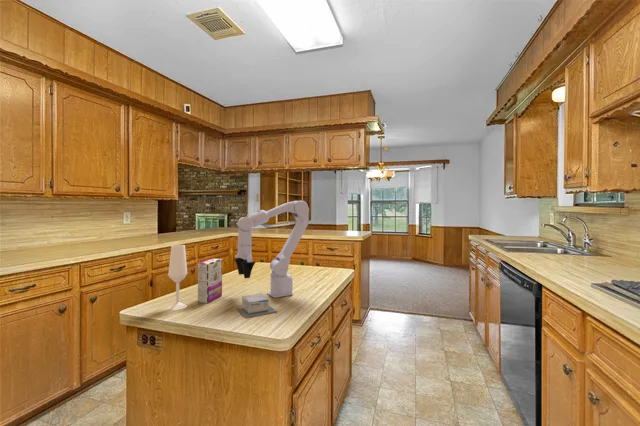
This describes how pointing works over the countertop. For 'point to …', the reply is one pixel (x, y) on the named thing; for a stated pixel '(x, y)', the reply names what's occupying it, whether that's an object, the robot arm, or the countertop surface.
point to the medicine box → (255, 303)
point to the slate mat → (256, 312)
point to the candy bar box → (209, 280)
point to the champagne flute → (177, 271)
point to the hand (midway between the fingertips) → (244, 276)
